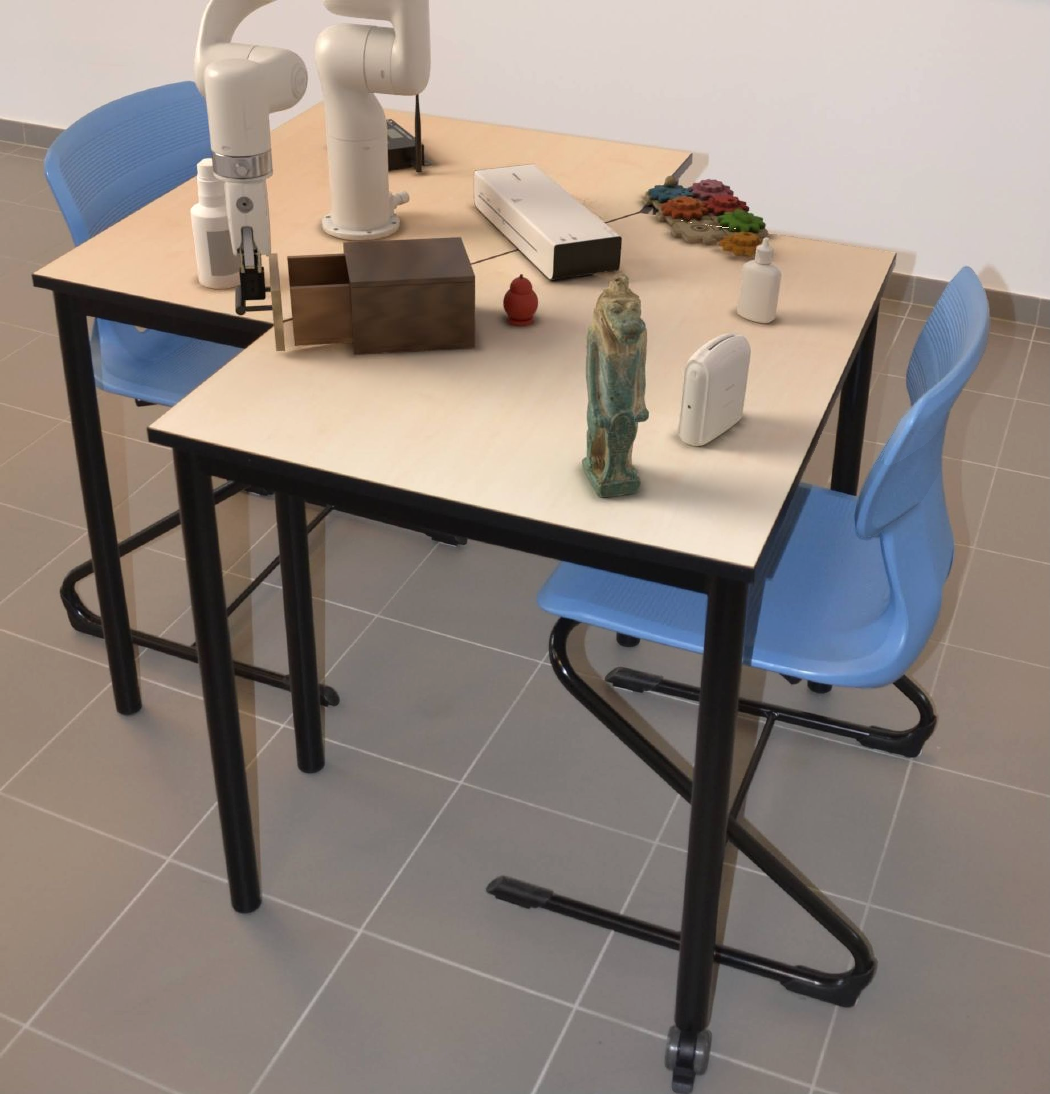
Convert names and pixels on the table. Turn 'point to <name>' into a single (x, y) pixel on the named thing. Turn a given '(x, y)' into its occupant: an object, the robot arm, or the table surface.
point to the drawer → (309, 300)
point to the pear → (520, 302)
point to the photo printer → (714, 389)
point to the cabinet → (410, 295)
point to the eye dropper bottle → (759, 286)
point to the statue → (615, 389)
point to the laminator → (546, 222)
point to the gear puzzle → (707, 215)
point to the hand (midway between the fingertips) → (253, 297)
